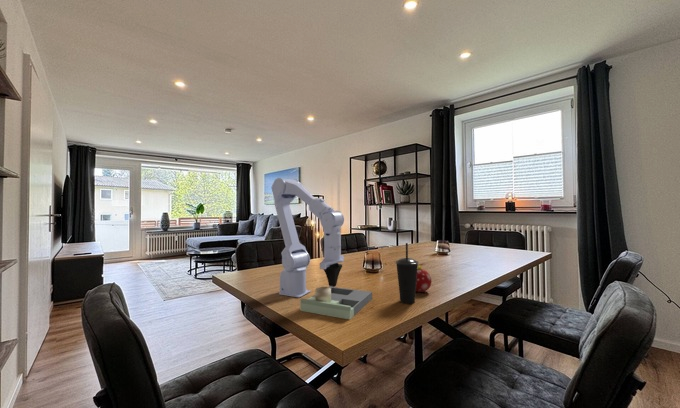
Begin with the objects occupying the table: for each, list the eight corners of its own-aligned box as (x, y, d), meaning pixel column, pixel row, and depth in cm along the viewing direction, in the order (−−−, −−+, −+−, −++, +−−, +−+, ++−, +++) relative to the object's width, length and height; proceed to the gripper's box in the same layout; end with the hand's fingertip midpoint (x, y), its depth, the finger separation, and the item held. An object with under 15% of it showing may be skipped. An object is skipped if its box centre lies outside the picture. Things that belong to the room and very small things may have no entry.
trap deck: (300, 310, 88) (300, 299, 88) (329, 292, 106) (329, 283, 106) (349, 319, 81) (349, 307, 81) (372, 298, 99) (372, 288, 99)
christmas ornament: (406, 288, 111) (405, 263, 111) (427, 288, 111) (427, 263, 111) (411, 295, 102) (410, 267, 102) (434, 295, 102) (434, 267, 102)
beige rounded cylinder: (312, 303, 88) (312, 290, 88) (320, 298, 93) (320, 286, 93) (326, 305, 86) (326, 292, 86) (333, 300, 90) (333, 287, 90)
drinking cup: (398, 296, 101) (397, 241, 101) (420, 299, 98) (419, 242, 98) (394, 303, 94) (393, 244, 94) (417, 306, 91) (416, 245, 91)
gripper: (333, 250, 87) (333, 293, 87) (351, 244, 100) (351, 281, 100) (313, 248, 90) (314, 290, 90) (333, 243, 103) (334, 279, 103)
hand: (332, 286), depth 96 cm, fingers closed
